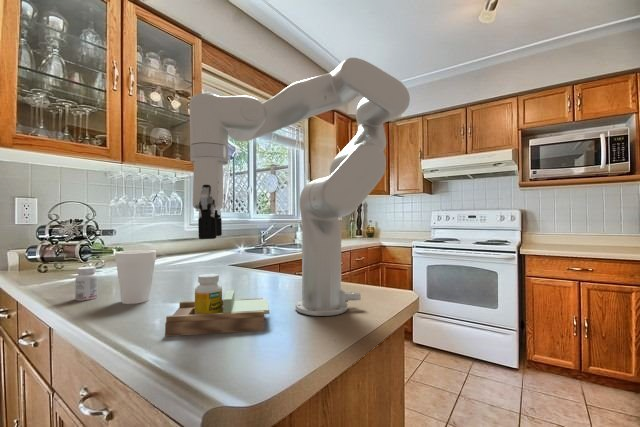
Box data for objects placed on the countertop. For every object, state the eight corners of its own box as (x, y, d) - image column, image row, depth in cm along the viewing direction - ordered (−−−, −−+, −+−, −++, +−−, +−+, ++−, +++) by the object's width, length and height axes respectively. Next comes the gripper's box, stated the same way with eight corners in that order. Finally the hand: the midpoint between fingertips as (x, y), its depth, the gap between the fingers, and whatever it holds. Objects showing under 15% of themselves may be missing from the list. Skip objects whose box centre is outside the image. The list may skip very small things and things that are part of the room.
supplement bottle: (207, 316, 68) (207, 272, 68) (227, 319, 66) (227, 273, 66) (188, 324, 63) (189, 276, 63) (209, 327, 61) (210, 278, 61)
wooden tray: (262, 312, 73) (263, 297, 73) (264, 329, 61) (264, 312, 61) (180, 316, 69) (180, 301, 69) (165, 336, 57) (165, 317, 57)
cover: (267, 302, 71) (267, 288, 72) (269, 313, 63) (269, 298, 63) (227, 304, 70) (227, 290, 70) (222, 316, 61) (223, 300, 61)
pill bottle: (95, 295, 88) (95, 265, 88) (98, 298, 85) (99, 267, 85) (73, 298, 85) (74, 267, 85) (76, 301, 81) (77, 269, 82)
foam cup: (108, 301, 82) (109, 252, 82) (144, 294, 89) (145, 249, 89) (124, 307, 76) (125, 254, 76) (162, 299, 84) (163, 251, 84)
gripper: (198, 162, 73) (199, 235, 73) (180, 146, 56) (182, 241, 56) (231, 163, 75) (232, 234, 74) (224, 147, 58) (225, 239, 57)
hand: (211, 237), depth 65 cm, fingers open, 9 cm apart
